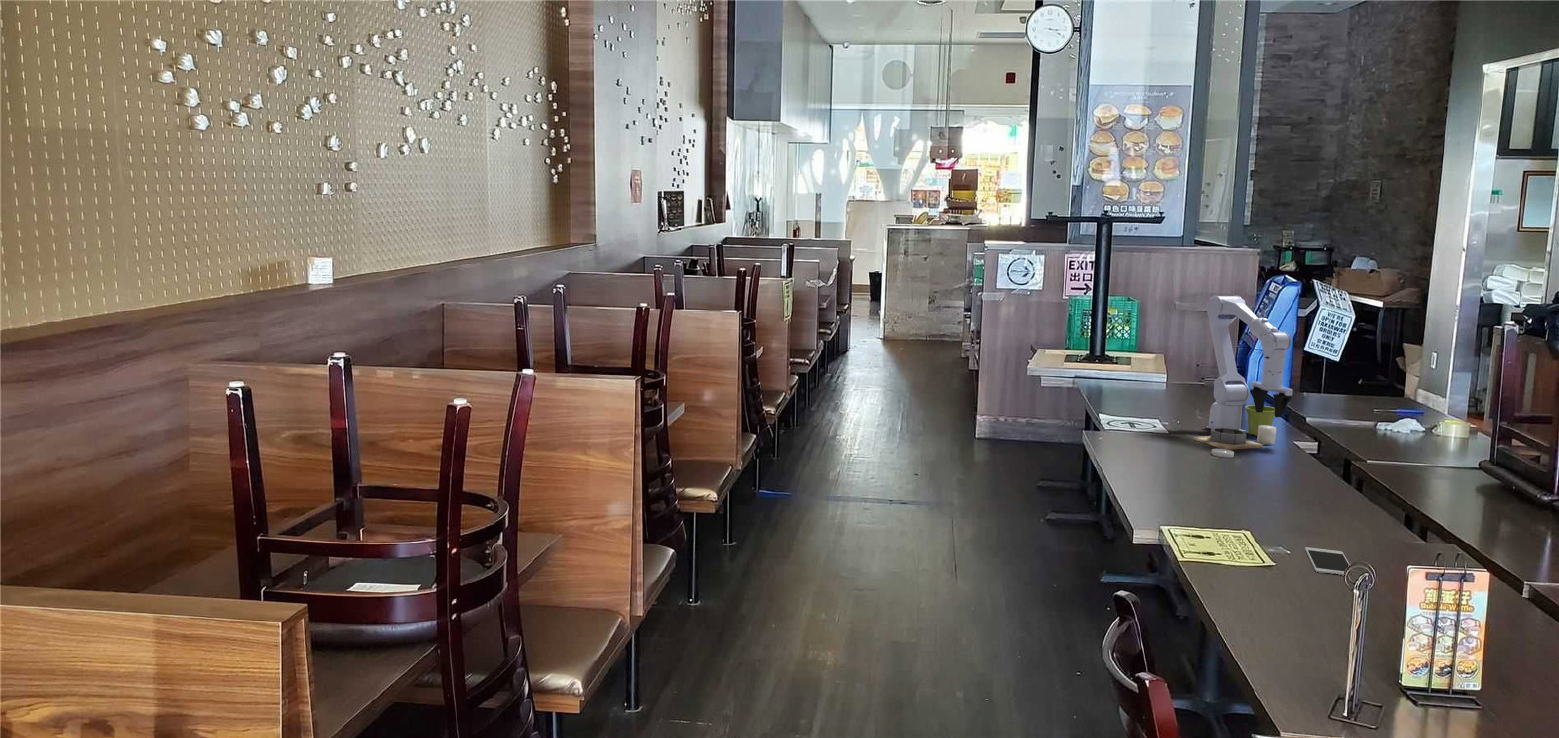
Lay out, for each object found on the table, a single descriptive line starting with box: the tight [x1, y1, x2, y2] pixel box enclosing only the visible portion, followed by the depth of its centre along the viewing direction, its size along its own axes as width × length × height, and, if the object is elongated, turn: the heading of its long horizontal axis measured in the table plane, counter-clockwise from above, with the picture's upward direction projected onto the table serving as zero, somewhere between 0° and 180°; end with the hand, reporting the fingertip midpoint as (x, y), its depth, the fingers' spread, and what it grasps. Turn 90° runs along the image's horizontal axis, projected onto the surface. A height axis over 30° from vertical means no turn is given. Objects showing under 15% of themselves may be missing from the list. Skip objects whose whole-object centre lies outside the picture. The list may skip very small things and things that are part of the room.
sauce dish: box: [1211, 448, 1235, 459], centre depth 307 cm, size 6×6×2 cm
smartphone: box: [1304, 546, 1351, 577], centre depth 215 cm, size 7×15×1 cm, turn 161°
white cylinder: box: [1256, 425, 1277, 446], centre depth 325 cm, size 5×5×5 cm
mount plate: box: [1192, 435, 1264, 451], centre depth 323 cm, size 14×14×1 cm
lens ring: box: [1209, 428, 1248, 445], centre depth 322 cm, size 10×10×3 cm
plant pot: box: [1245, 404, 1275, 437], centre depth 336 cm, size 9×9×9 cm
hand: (1268, 414), depth 324 cm, fingers open, 7 cm apart
